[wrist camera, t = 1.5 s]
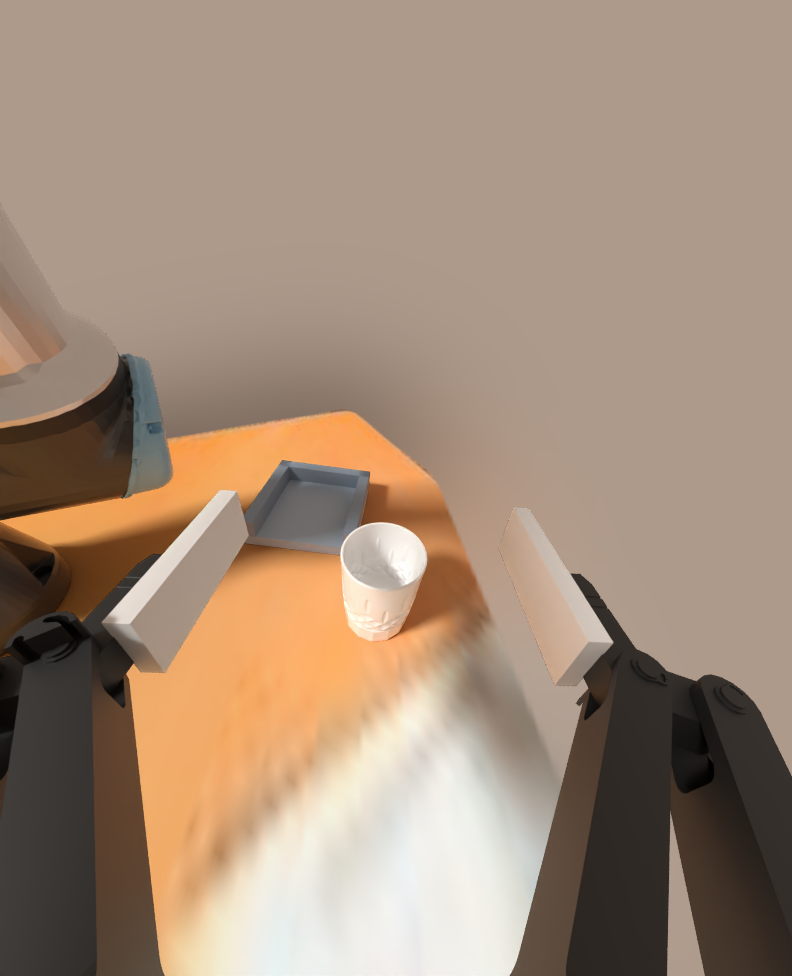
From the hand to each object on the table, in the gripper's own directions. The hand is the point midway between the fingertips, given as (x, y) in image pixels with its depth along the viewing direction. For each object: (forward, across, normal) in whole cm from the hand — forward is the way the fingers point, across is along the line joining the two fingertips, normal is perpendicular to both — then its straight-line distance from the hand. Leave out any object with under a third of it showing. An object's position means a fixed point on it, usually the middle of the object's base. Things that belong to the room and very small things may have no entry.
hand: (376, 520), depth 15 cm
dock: (+23, -10, -19) cm, 31 cm away
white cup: (+9, 0, -20) cm, 22 cm away
